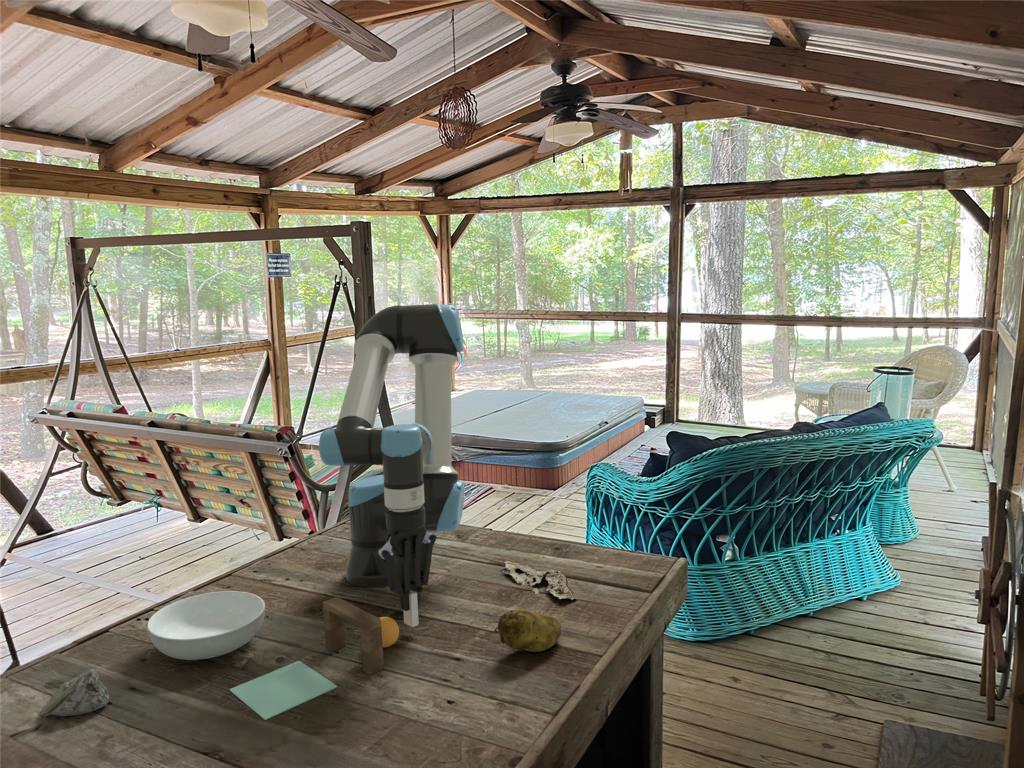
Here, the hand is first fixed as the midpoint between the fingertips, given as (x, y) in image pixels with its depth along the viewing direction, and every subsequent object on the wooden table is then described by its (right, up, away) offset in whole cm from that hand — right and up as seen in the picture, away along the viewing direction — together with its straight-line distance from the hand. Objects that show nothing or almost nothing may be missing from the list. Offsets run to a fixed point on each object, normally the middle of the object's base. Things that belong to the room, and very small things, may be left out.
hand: (411, 623), depth 144 cm
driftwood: (+25, +1, +23) cm, 34 cm away
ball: (-4, 0, -5) cm, 7 cm away
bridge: (-9, -3, -9) cm, 13 cm away
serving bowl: (-38, -4, -2) cm, 38 cm away
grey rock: (-52, -7, -21) cm, 57 cm away
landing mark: (-19, -5, -19) cm, 27 cm away
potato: (+23, -2, -8) cm, 25 cm away
